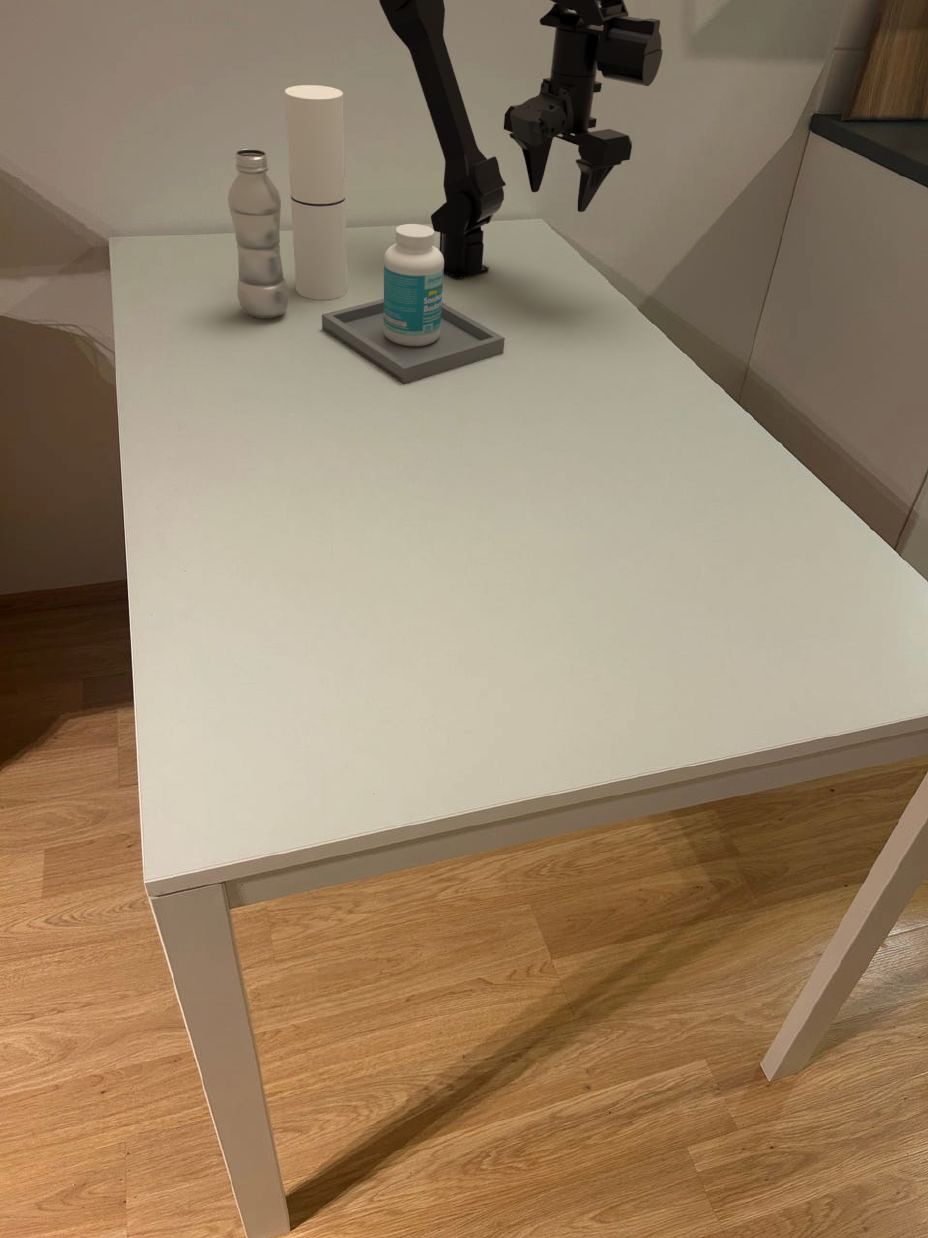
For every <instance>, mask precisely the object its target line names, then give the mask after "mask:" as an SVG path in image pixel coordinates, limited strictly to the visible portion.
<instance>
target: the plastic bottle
mask: <svg viewBox="0 0 928 1238" xmlns="http://www.w3.org/2000/svg"><path fill="white" fill-rule="evenodd" d="M235 170H236V171H238V173H237V176H236V177H235V179H234V180H233V182H232V183H231V186H230V187H229V190H228V196H227V202H228V208H229V212H230V216H231V220H232V223H233V225H232V226H233V228H234V234H235V241H236V248H237V253H238V261H237V262H238V279H237V294H236V295H237V298H238V302H239V303H238V304H239V307H240V308H241V310H243V312H244V313H245V314H246V315H248V316H250V317H253V318H256V319H272V318H276V317H279V316H281V315H283V314H284V313H285V311H286V310H287V307H288V303H289V291H288V287H287V283H286V280H285V277H284V270H283V263H282V258H281V257H282V256H281V245H280V243H281V237H280V235H281V234H280V226H281V211H282V210H281V208H282V198H281V196H280V193H279V190H278V189H277V188H276V186H275V183H273V181H272V180H271V178H270V177H269V175H268V174H267V172H268V171H269V164H268V155H267V153H266V151H264V150H261V149H257V148H256V149H255V148H244V149H239V150H236V151H235Z"/></svg>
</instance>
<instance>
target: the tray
mask: <svg viewBox="0 0 928 1238" xmlns="http://www.w3.org/2000/svg"><path fill="white" fill-rule="evenodd" d="M383 310H384V298H382V299H377V300H374V301H370V302H365V303H361V304H358V305H357V304H356V305H354V306H349V307H346V308H342V309H337V310H334V311H330V312H327V313H323V314H321V327H322V330H323V331H324V332H326V333H327V334H329V335H330V336H332V337H333V338H335V339H336V340H337V341H339V342H340V343H342V344H343V345H345V346H347V347H348V348H350V349H351V350H353V351H354V352H356V353H357V354H358V355H360V356H361V357H363V358H365V360H367V361H369V362H371V364H374V365H375V366H377V367H378V368H380V369H381V370H383V372H385V373H387V374H388V375H390V376H391V377H392V378H394V379H396V380H397V381H399V382H400V383H401V384H403V385H407V384H408V383H413V382H415V381H419V380H421V379H424V378H427V377H430V376H433V375H436V374H440V373H444V372H446V371H450V370H453V369H456V368H459V367H462V366H466V365H468V364H471V363H475V362H478V361H481V360H484V359H488V358H491V357H493V356H497V355H500V354H503V353H504V349H505V348H504V347H505V340H506V339H505V337H504V336H502V335H500V334H498V333H497V332H495V331H493V330H491V329H490V328H488V327H486V326H485V325H483V324H481V323H479V322H477V321H476V320H474V319H472V318H471V317H468V316H467V315H465V314H463V313H461V312H460V311H458V310H456V309H454V308H453V307H451V306H449V305H447V304H446V303H444V302H442V309H441V329H440V335H439V337H438V339H437V340H436V341H434V342H433V343H431V344H428V345H424V346H405V345H400V344H397V343H394V342H392V341H391V340H389V339H388V338H387V337H386V336H385V334H384V330H383Z"/></svg>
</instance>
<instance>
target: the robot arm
mask: <svg viewBox="0 0 928 1238" xmlns="http://www.w3.org/2000/svg"><path fill="white" fill-rule="evenodd" d="M378 1H379V5H380V7H381V9H382V11H383V13H384V16H385V18H386V20H387V22H388V24H389V27H390V28H391V30H392V31H393V32H394V34H396V36H397V37H398V38H399V39H400V40H401V41H402V43H403V44H404V45H405V46H406V47H407V50H408V51H409V54H410V56H411V60H412V63H413V66H414V69H415V72H416V74H417V78H418V81H419V84H420V87H421V91H422V94H423V97H424V99H425V103H426V105H427V109H428V112H429V115H430V118H431V122H432V124H433V127H434V130H435V133H436V137H437V139H438V142H439V146H440V149H441V152H442V156H443V158H444V175H443V190H444V195H445V196H444V197H445V200H446V202H445V203H443V204H442V205H441V206H440V207H439V208H438V209H436V211H434V212H433V213H432V214H431V215H430V220H431V225H432V229H433V230H434V232H437V233H439V248H438V250H439V251H440V252H441V253H442V255H443V258H444V273H443V274H446V275H447V276H449V277H452V278H453V279H456V280H459V279H463V278H466V277H467V278H468V277H471V276H475V275H480V274H482V273H487V272H489V269H490V268H489V267H488V266H486V265H484V264H483V260H484V248H485V247H484V246H485V243H484V230H482V227H483V226H484V225H488V224H490V222H491V221H492V217H493V215H494V214H496V213H497V212H498V211H499V210H500V209H501V206H502V204H503V203H504V202H503V201H504V200H505V191H504V187H506V185H507V183H506V182H505V181H504V179H503V177H502V175H501V171H500V166H499V161H498V158H497V157H496V156H492V157H489V158H487V157H486V156H485V155H484V154H483V152H482V151H481V150H480V149H479V146H478V145H477V141H476V138H475V135H474V132H473V129H472V126H471V123H470V119H469V116H468V115H469V114H468V113H467V110H466V106H465V103H464V100H463V96H462V92H461V90H460V87H459V83H458V80H457V77H456V73H455V70H454V67H453V64H452V60H451V57H450V54H449V52H448V48H447V45H446V42H445V37H444V27H445V17H446V15H445V13H446V9H445V2H444V0H378ZM550 1H551V2H552V3H554V4H552V5H553V6H552V7H551V8H550V10H549V11H548V12H547V13H546V14H545V15H543V16H542V17H541V18H540V19H539V24H540V25H541V26H544V27H549V28H550V27H552V28H555V30H554V40H553V50H552V58H551V67H550V68H551V69H550V77H546V78H542V82H541V84H540V91H539V94H538V95H536V96H533V97H531V98H528V99H527V100H526V101H523V103H521V104H515V105H510V106H509V108H508V109H507V111H506V112H505V113H504V120H503V130H505V131H508V132H510V133H508V135H509V137H510V139H512V140H513V141H514V142H515V143H517V145H518V146H519V147H520V148H521V150H522V151H521V152H522V155H523V158H524V162H525V166H526V172H527V176H528V182H529V187H530V192H532V193H537V192H539V191H540V188H541V185H542V182H543V179H544V174H545V171H546V168H547V164H548V163H547V162H548V159H549V156H550V151H551V147H552V144H553V140H554V138H558V139H560V140H563V141H565V142H567V143H570V144H573V145H576V146H578V147H577V149H578V155H579V157H580V159H575V163H576V165H577V167H578V168H579V170H580V178H579V187H578V195H577V212H579V213H582V212H585V211H586V210H587V208H588V207H589V205H590V203H591V202H592V200H593V199H594V197H595V195H596V194H597V192H598V191H599V189H600V187H601V186H602V184H603V182H604V181H605V179H606V178H607V176H609V174H610V173H611V172H612V170H613V168H614V167H615V166H619V165H622V163H623V162H624V161H629V160H631V154H632V149H633V142H632V140H631V137H630V136H629V135H628V134H625V133H622V132H619V131H616V130H614V129H612V128H607V129H602V130H601V129H600V130H594V131H589V129H595V128H596V127H597V126H596V125H597V118H596V117H593V116H591V115H592V110H593V109H592V108H593V100H594V95H595V93H596V94H597V93H601V90H602V85H603V83H602V82H599V81H597V79H596V78H597V73H598V72H601V74H602V77H603V78H605V79H607V80H614V81H620V82H623V83H628V84H633V85H638V86H639V85H640V86H645V87H650V86H651V85H652V83H653V82H654V80H655V78H656V77H657V75H658V71H659V69H660V65H661V62H662V58H663V57H662V56H663V49H662V36H661V33H660V27H661V20H660V19H657V18H656V19H655V18H645V19H644V18H638V17H633V16H629V11H628V9H627V6H626V4H625V2H624V1H625V0H550ZM597 71H598V72H597Z"/></svg>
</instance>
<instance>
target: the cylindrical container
mask: <svg viewBox="0 0 928 1238" xmlns="http://www.w3.org/2000/svg"><path fill="white" fill-rule="evenodd" d="M284 99H285V100H284V101H285V118H286V132H287V133H286V134H287V135H286V136H287V137H286V138H287V152H288V153H287V154H288V167H289V168H288V170H289V190H290V205H291V207H290V208H291V222H292V224H291V225H292V237H293V238H292V239H293V259H294V271H295V274H294V275H295V289H296V293H297V294H298V295H300V296H301V297H304V298H306V299H311V300H316V301H317V300H318V301H327V300H330V301H331V300H334V299H339V298H341V297H343V296H344V295H346V294H347V292H348V278H347V277H348V274H347V272H348V271H347V269H348V268H347V233H346V232H347V229H346V228H347V224H346V181H345V180H346V179H345V178H346V176H345V175H346V174H345V173H346V172H345V137H344V136H345V134H344V132H345V127H344V124H345V123H344V120H345V119H344V92H343V91H342V90H341V89H338V88H335V87H331V86H326V85H315V84H304V85H303V84H302V85H301V84H300V85H295V86H293V85H292V86H289V87H287V88H286V89H285V90H284Z"/></svg>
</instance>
